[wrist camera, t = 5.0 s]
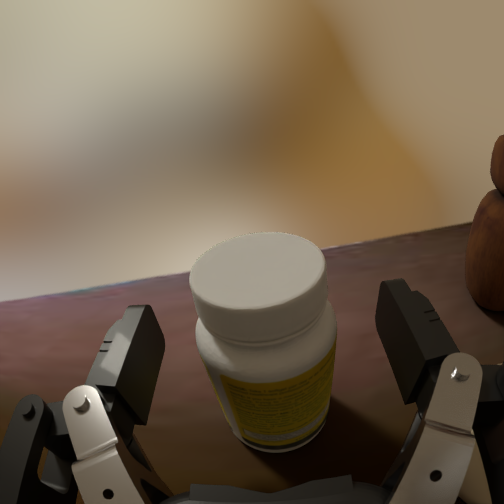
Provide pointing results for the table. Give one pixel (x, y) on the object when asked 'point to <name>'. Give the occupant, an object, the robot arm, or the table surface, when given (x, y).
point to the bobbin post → (475, 480)
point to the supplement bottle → (267, 336)
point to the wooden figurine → (488, 241)
